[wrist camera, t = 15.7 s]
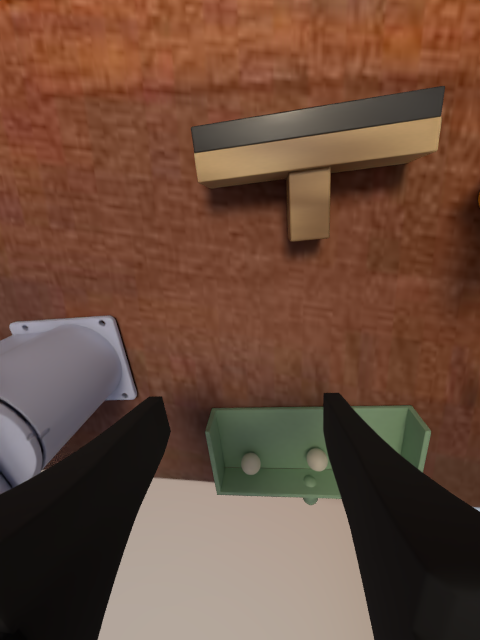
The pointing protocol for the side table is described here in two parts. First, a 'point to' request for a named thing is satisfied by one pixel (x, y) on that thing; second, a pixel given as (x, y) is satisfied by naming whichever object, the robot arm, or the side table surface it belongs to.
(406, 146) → the brush
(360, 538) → the robot arm
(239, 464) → the dustpan
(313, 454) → the crumb
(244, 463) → the crumb
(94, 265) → the side table surface
